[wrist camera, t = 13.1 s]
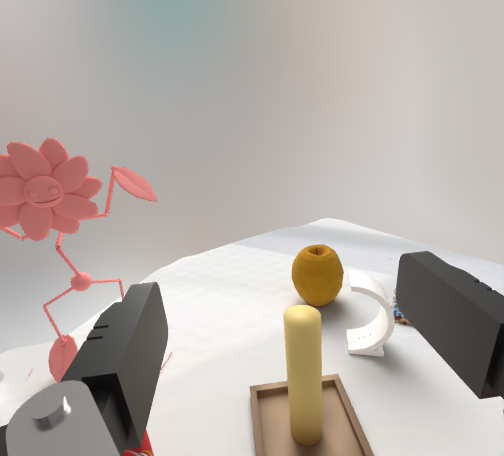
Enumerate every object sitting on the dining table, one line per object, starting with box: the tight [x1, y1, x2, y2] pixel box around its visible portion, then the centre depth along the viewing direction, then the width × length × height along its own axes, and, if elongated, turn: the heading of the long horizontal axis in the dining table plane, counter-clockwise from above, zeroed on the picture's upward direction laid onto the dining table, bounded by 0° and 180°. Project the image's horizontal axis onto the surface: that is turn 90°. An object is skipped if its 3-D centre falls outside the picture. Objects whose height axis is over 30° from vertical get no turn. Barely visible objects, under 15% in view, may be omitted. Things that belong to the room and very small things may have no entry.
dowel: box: [284, 305, 322, 446], centre depth 31 cm, size 4×4×16 cm
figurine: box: [0, 138, 172, 383], centre depth 40 cm, size 15×26×35 cm, turn 121°
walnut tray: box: [250, 374, 374, 456], centre depth 34 cm, size 12×12×2 cm
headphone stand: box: [346, 270, 395, 357], centre depth 44 cm, size 5×6×12 cm
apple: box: [292, 245, 343, 306], centre depth 56 cm, size 10×10×12 cm
